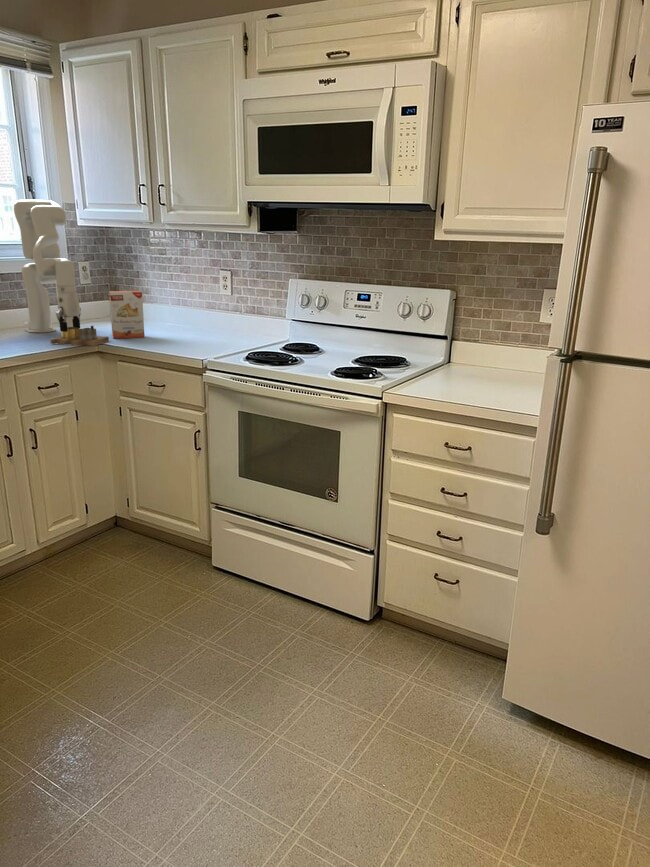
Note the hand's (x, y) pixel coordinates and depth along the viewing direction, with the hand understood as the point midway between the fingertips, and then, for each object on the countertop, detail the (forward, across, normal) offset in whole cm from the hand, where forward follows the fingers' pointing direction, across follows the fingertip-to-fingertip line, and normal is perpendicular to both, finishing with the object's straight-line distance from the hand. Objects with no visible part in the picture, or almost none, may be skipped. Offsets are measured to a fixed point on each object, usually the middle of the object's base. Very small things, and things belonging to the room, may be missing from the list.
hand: (70, 329), depth 281 cm
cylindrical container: (+6, +14, +10) cm, 18 cm away
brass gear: (+3, 0, 0) cm, 3 cm away
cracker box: (+6, +19, -17) cm, 26 cm away
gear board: (+5, 0, -4) cm, 7 cm away
